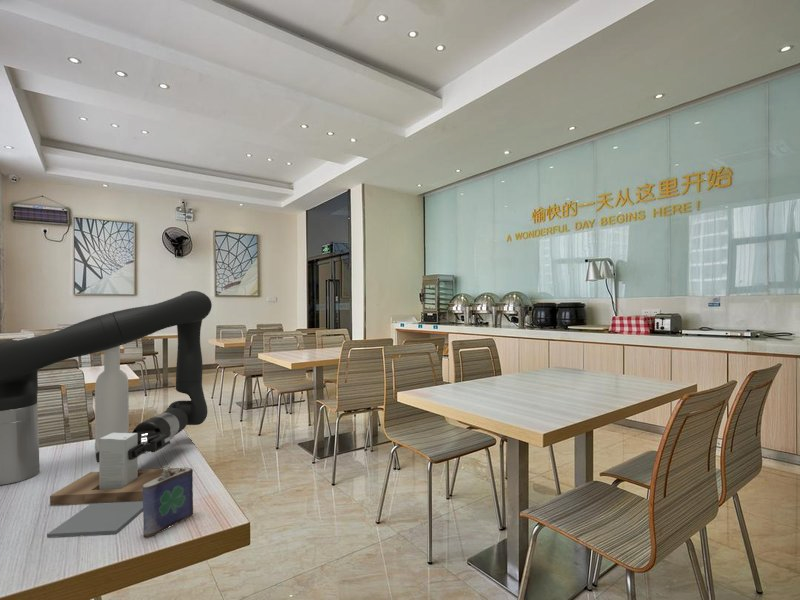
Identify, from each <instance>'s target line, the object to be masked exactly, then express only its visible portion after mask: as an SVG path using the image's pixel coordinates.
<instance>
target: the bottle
mask: <svg viewBox="0 0 800 600" xmlns="http://www.w3.org/2000/svg"><path fill="white" fill-rule="evenodd" d="M102 352H103V353H104V354H103V361H104V362H103V366H104V367H103V371H102V372H100V374H98V376H97V378H96V381H95V384H94V422H95V423H94V426H95V427H94V430H95V431H94V434H95V435H94V437H95V440H94V451H95V454H96V453H97V452H99V439H100V438H102V437H104V436H106V435H109V434H111V433H130V432H129V420H130V419H129V416H130V415H129V412H130V411H129V407H130V406H129V404H130V403H129V399H130V398H129V395H130V394H129V389H130V387H129V386H130V385H129V382H130V381H129V378H128V376H127V373H126V372H125V371H123V370H121V345H120V346H117V347H114V348H111V349H107V350H103V351H102Z"/></svg>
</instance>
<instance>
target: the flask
mask: <svg viewBox="0 0 800 600" xmlns="http://www.w3.org/2000/svg"><path fill="white" fill-rule="evenodd" d="M170 468H171V467H170V465H168V464H166V465H164V466H162V467H160V469H163V473H162V475H163V476H161V477H159V478H156V479H154V480H152V481H150V482H148V483H145V484H144V485H143V486H142V488H143V489H142V491H143V511H142V513H143V514H142V516H143V517H142V518H143V520H142V522H143V525H142V526H143V531H142V533H143V536H144V535H145V536H144V537H147V536H150V537H152V536H155V535H154V534H156V535H158V534H157V533H159V532H160V533H161V532H163V531H165V530H164V529H166V528H168V527H169V526H172V525H174V526H175V525H176V524H179V523H181V522H182V521H185V520H187V519H189V518H192V517H193V516H194V499H193V498H194V492H193V491H194V490H193V486H194V484H193V483H194V481H193V480H194V479H193V478H194V476H193V475H194V474H193V472H194V469H193V468H191V467H177V468H178V469H176V470H174V471H173V470H170ZM172 527H173V526H172ZM168 529H169V528H168ZM162 530H163V531H162ZM166 530H167V529H166ZM160 533H159V534H160Z"/></svg>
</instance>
